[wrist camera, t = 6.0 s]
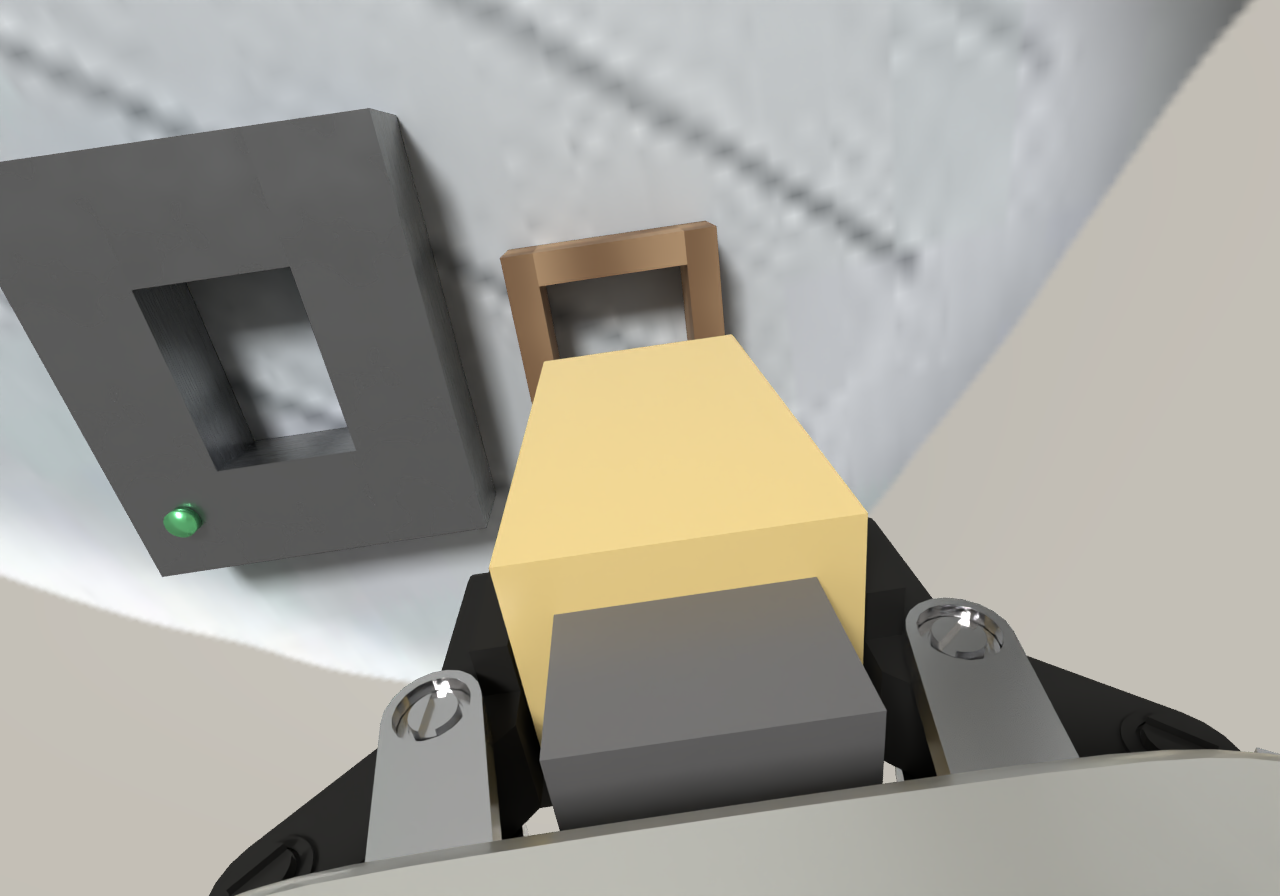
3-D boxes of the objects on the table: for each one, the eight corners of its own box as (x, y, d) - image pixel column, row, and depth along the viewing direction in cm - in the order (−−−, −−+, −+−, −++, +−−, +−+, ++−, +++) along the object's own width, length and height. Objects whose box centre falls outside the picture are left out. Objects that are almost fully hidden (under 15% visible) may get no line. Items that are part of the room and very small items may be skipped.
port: (396, 115, 23) (365, 106, 20) (495, 494, 29) (484, 532, 26) (15, 171, 23) (-77, 171, 20) (202, 538, 29) (156, 582, 26)
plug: (731, 334, 14) (959, 633, 5) (746, 548, 17) (917, 996, 8) (543, 361, 14) (450, 707, 5) (586, 571, 17) (574, 1046, 8)
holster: (705, 220, 25) (716, 226, 23) (723, 436, 29) (734, 459, 27) (508, 249, 25) (499, 258, 23) (553, 462, 29) (550, 487, 27)
